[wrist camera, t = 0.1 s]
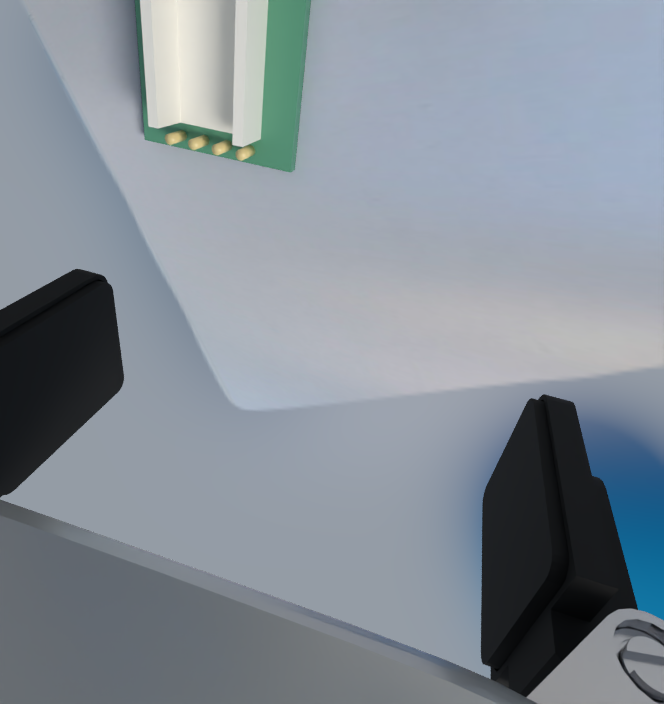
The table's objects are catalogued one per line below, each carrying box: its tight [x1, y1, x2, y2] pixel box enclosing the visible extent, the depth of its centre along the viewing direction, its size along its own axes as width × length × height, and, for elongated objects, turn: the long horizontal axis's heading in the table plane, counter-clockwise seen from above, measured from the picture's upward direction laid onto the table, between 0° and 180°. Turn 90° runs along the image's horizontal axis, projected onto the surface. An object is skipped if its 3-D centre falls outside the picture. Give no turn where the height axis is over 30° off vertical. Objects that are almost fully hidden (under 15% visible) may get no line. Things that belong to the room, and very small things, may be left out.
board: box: [135, 0, 311, 172], centre depth 34 cm, size 18×13×4 cm
